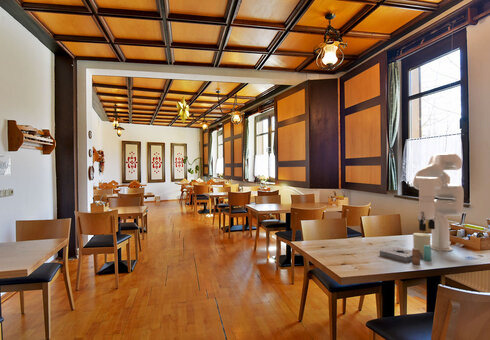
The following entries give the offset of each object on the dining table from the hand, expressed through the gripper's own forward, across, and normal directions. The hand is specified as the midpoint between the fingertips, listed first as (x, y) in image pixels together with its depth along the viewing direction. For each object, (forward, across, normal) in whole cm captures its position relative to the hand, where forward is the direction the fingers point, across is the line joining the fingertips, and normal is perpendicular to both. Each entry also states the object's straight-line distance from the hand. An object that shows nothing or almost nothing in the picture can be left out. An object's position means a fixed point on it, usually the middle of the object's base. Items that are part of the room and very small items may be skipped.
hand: (427, 229), depth 163 cm
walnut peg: (+17, +12, 0) cm, 21 cm away
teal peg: (+17, 0, 0) cm, 17 cm away
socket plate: (+17, +6, -12) cm, 22 cm away
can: (+17, -12, -9) cm, 23 cm away
